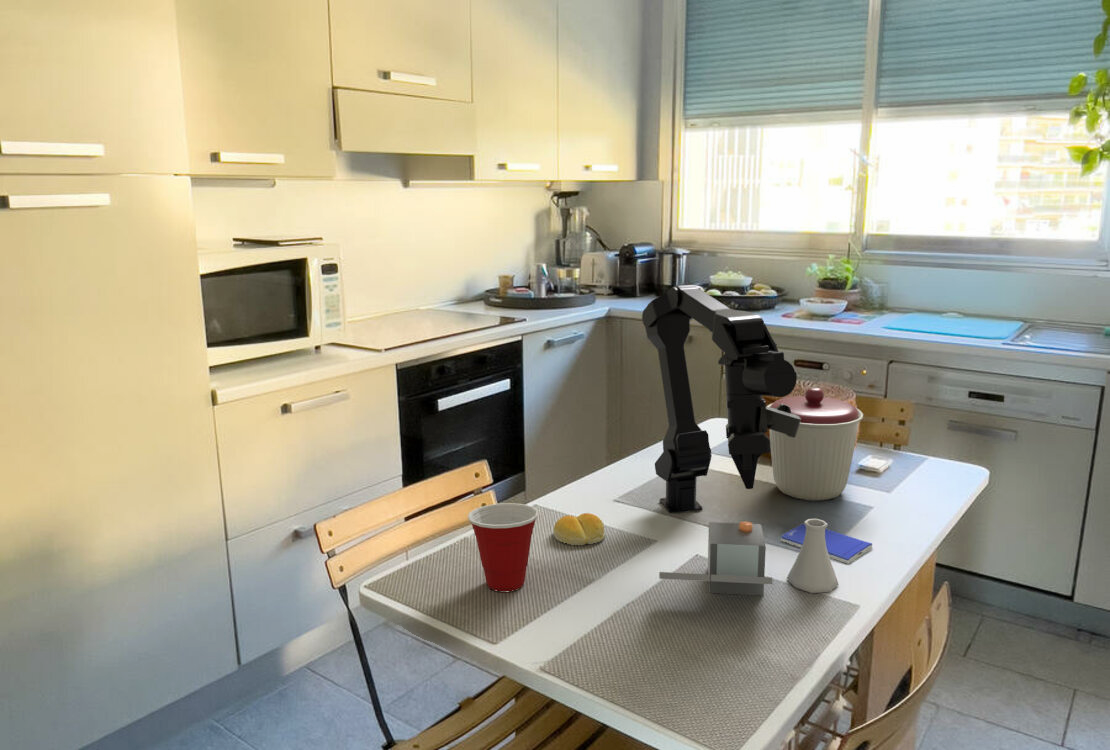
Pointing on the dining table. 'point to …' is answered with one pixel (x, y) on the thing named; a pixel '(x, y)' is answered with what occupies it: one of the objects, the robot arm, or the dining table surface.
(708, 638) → the dining table surface
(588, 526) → the bread roll
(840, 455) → the canister
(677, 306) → the robot arm
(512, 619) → the dining table surface
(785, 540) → the hard drive
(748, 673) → the dining table surface
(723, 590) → the grey box
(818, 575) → the flask
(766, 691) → the dining table surface
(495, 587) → the plastic cup
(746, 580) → the side door
